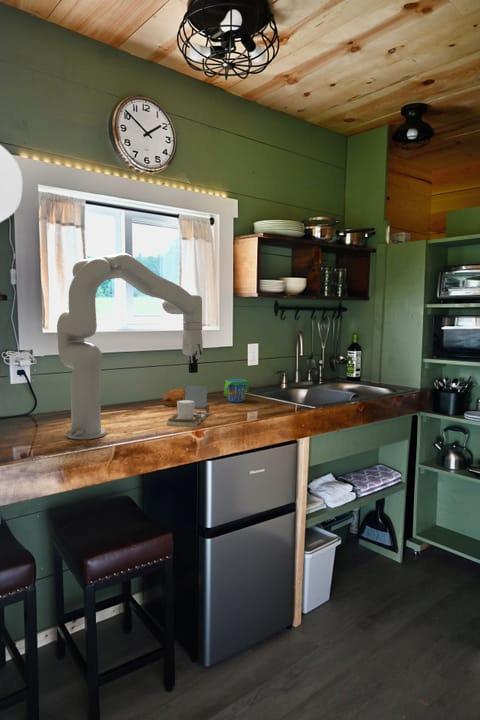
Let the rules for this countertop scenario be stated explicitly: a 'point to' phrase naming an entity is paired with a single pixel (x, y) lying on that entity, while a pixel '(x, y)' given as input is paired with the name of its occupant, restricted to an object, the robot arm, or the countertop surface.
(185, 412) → the white tapered cup
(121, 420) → the countertop surface
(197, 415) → the jig board
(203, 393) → the flap
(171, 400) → the croissant
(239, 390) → the snack cup
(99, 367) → the robot arm
